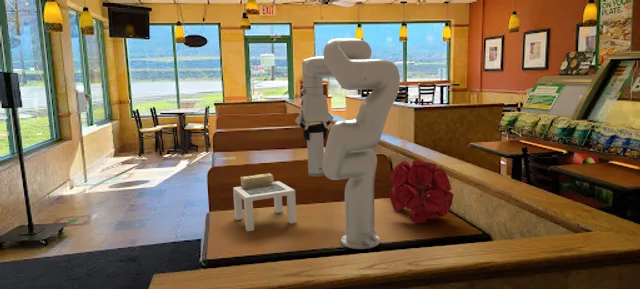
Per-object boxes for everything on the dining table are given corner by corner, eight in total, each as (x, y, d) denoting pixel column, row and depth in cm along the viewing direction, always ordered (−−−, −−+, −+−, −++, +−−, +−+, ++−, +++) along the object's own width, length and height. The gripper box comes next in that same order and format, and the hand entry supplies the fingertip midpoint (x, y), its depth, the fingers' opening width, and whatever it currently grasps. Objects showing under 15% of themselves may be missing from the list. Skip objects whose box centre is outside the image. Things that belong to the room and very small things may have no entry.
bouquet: (377, 233, 172) (414, 214, 146) (367, 175, 180) (400, 147, 154) (426, 229, 179) (469, 210, 153) (414, 173, 187) (453, 147, 161)
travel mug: (325, 176, 168) (323, 123, 166) (308, 176, 169) (306, 124, 166) (325, 173, 175) (323, 122, 172) (308, 173, 175) (306, 123, 172)
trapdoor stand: (296, 222, 167) (295, 190, 165) (247, 231, 159) (245, 197, 157) (280, 210, 183) (278, 181, 181) (235, 218, 175) (233, 187, 173)
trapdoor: (284, 192, 167) (284, 180, 166) (251, 197, 161) (250, 185, 161) (271, 183, 181) (270, 173, 180) (240, 188, 175) (239, 177, 175)
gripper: (295, 93, 160) (298, 142, 163) (338, 90, 167) (339, 138, 170) (288, 93, 167) (290, 140, 169) (329, 91, 174) (331, 136, 177)
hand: (315, 138), depth 170 cm, fingers closed on travel mug, 6 cm apart
